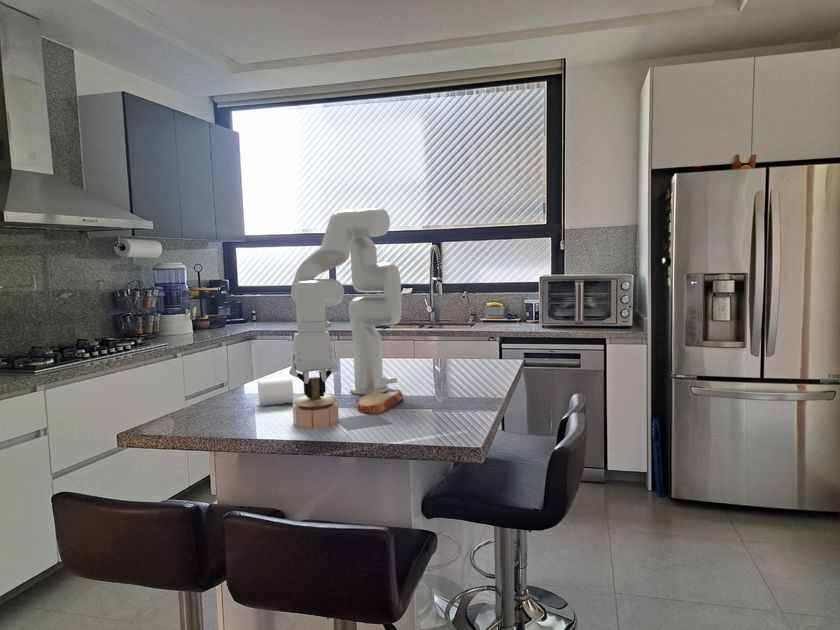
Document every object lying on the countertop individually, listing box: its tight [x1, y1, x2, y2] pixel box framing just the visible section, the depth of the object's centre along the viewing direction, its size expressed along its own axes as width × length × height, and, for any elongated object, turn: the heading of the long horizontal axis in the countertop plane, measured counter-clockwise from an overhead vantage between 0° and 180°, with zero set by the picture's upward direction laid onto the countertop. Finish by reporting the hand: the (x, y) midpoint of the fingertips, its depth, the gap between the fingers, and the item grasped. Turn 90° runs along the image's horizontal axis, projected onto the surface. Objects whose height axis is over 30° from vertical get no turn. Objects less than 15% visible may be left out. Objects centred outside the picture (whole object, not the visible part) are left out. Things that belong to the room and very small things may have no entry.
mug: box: [257, 376, 294, 407], centre depth 181 cm, size 12×10×8 cm
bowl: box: [292, 402, 340, 429], centre depth 154 cm, size 11×11×5 cm
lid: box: [293, 376, 337, 407], centre depth 154 cm, size 11×11×6 cm
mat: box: [337, 413, 393, 431], centre depth 154 cm, size 12×12×1 cm
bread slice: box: [356, 389, 404, 415], centre depth 172 cm, size 18×18×4 cm
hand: (315, 395), depth 154 cm, fingers closed on lid, 2 cm apart
